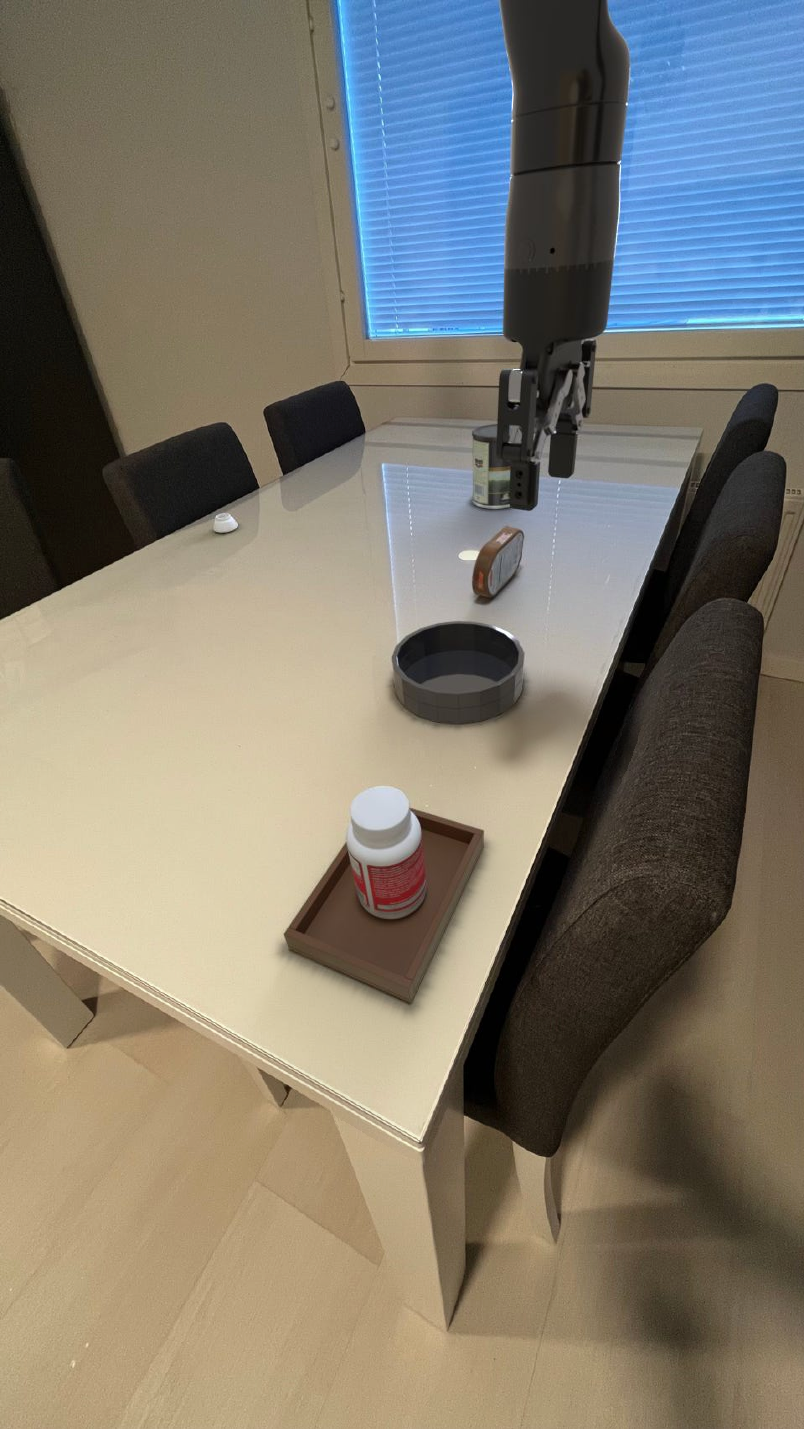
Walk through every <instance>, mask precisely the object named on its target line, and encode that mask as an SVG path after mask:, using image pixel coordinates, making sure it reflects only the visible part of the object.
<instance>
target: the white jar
mask: <svg viewBox="0 0 804 1429" xmlns="http://www.w3.org/2000/svg"><path fill="white" fill-rule="evenodd" d="M214 517H215V518H214V522H213V526H212V529H213V531H214V532H216V533H221V534H223V533H230V532H232V531H234V530H236V529H237V528H238V526H239V524H238V522H237V521H236V520H235V519H234V517H232V516H231V514H230V513H229V512H222V513H219V514H216V516H214Z"/></svg>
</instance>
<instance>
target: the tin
mask: <svg viewBox="0 0 804 1429" xmlns="http://www.w3.org/2000/svg"><path fill="white" fill-rule="evenodd" d="M524 540H525V534H524V532H523V530H522V529H520V528H516V527H512V526H509V525H505V526H503V527H502V528H501V529H500V530H499V531H498V532H496V534H494V535H493V536H492V537H491V538H490V539H488V540H487V541H486V542H485V543H484V544H483V545H482V547H481V549H480V550H479V552H478V554H477V556H476V560H475V562H474V564H473V565H474V566H473V571H472V577H471V579H472V580H471V588H472V592H473V593H474V595H476V596H482V597H486V598H493V597H495V596H496V595H497V594H499V592H500V591H501V590H502V589H503V588H504V587H505V585H507V584H508V583H509V581H510V580H511V579H512V578H513V577H515V575H516V573H517V571H518V569H519V567H520V564H521V562H522V557H523V548H524Z"/></svg>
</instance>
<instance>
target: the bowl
mask: <svg viewBox="0 0 804 1429" xmlns="http://www.w3.org/2000/svg"><path fill="white" fill-rule="evenodd" d="M525 656H526V655H525V651H524V648H523V646H522V644H521V642H520V640H519V639H517V638H516V637H515V636H513V635H512V634H511V633H510V632H509V631H507V630H504V629H503V628H500V627H497V626H496V625H493V624H488V623H483V622H479V621H470V620H469V621H467V620H452V621H444V622H438V623H434V624H433V623H432V624H430V625H427V626H424V627H421V628H418V629H416V630H414V631H412V632H411V633H409V634H407V635H406V636H404V637H403V638H402V639H401V640H400V641H399V642H398V643H397V644H396V645H395V648H394V650H393V652H392V655H391V665H392V673H393V684H394V692H395V696H396V697H397V698H398V701H399V702H400V704H401V705H402V706H403V707H404V708H405V709H406V710H408V711H409V713H412V714H414V715H415V716H417V717H419V718H422V719H424V720H426V721H427V720H428V721H430V722H435V723H441V724H449V725H450V724H451V725H461V724H473V723H478V722H483V721H486V720H489V719H493V718H494V717H497V716H500V715H501V714H503V713H504V712H506V711H507V710H509V709H510V708H511V707H512V706H513V705H514V704H516V702H517V701H518V700H519V698H520V696H521V694H522V692H523V687H524V686H523V684H524V673H525V672H524V670H525V669H524V668H525Z"/></svg>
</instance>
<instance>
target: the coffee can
mask: <svg viewBox="0 0 804 1429" xmlns="http://www.w3.org/2000/svg"><path fill="white" fill-rule="evenodd" d="M511 432H512V428H511V426H510V427H509V439H510V436H511ZM471 436H472V504H473V505H474V506H476V507H478V508H482V509H486V510H487V509H488V510H502V509H503V510H504V509H508V508H511V506H510V504H509V493H510V461H507V460H503V459H497V457H496V442H497V423H491V424H485V425H481V426H477V427H475V428H474V429H472V431H471Z"/></svg>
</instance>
